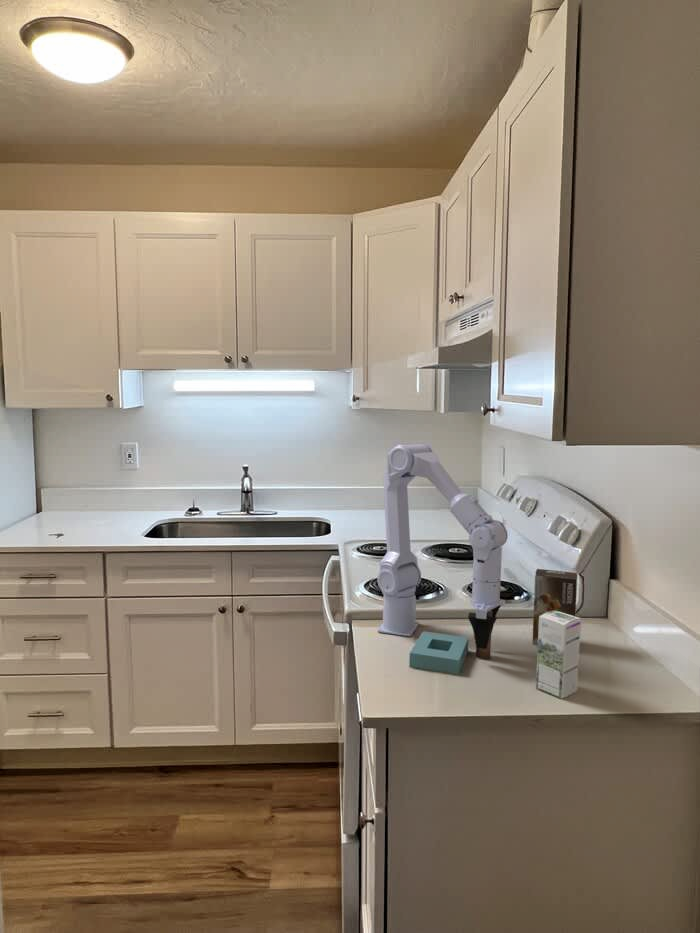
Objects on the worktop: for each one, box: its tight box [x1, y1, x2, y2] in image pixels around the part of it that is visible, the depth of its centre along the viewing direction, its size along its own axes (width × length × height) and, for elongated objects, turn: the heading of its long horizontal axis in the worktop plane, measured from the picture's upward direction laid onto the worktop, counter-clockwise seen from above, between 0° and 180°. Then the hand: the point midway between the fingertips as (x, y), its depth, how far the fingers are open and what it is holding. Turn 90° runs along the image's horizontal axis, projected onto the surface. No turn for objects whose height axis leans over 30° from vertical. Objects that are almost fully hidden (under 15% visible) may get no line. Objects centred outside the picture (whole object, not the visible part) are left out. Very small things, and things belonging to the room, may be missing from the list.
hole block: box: [408, 630, 470, 676], centre depth 134 cm, size 13×10×3 cm
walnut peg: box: [475, 610, 493, 660], centre depth 135 cm, size 3×3×10 cm
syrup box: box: [535, 611, 582, 700], centre depth 120 cm, size 6×6×14 cm
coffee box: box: [531, 568, 578, 646], centre depth 144 cm, size 9×6×16 cm
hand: (483, 641), depth 136 cm, fingers open, 7 cm apart
